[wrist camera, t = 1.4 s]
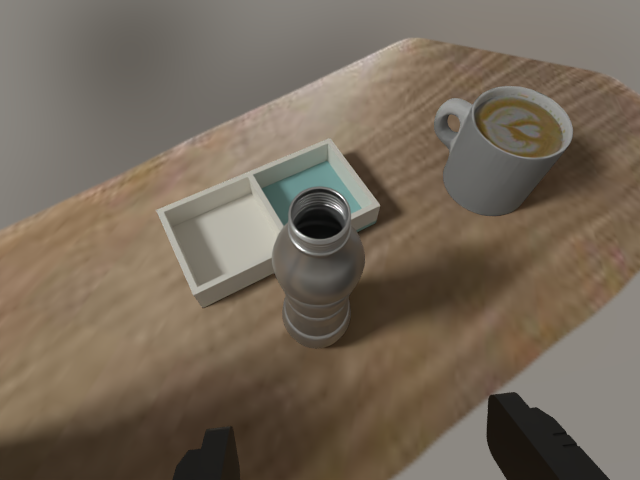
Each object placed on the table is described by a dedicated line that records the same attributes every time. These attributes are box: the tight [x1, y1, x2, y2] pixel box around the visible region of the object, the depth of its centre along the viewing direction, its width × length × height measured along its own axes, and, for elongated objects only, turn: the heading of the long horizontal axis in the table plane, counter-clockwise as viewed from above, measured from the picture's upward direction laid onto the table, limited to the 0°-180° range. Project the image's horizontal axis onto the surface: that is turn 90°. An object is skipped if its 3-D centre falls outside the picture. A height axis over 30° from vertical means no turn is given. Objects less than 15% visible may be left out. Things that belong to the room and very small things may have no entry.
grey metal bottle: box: [272, 186, 365, 349], centre depth 32 cm, size 6×7×20 cm
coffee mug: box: [434, 86, 573, 216], centre depth 45 cm, size 13×10×10 cm
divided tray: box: [156, 138, 380, 308], centre depth 44 cm, size 21×11×4 cm, turn 119°
